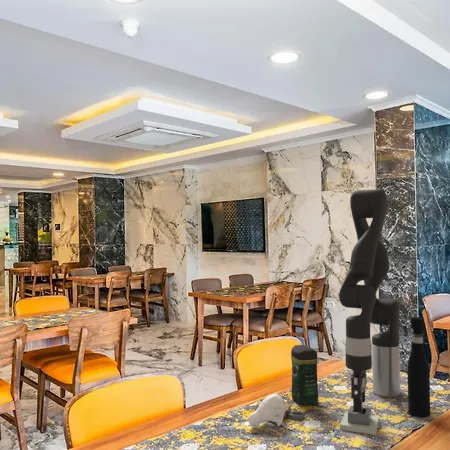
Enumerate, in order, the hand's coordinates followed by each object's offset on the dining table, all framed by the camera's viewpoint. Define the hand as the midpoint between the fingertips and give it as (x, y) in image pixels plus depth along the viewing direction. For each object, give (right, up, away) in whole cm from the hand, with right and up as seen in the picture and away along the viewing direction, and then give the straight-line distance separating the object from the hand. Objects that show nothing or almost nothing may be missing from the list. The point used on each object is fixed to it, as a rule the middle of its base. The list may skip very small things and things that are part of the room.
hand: (359, 406), depth 138 cm
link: (0, -4, 0) cm, 4 cm away
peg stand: (0, -6, 0) cm, 6 cm away
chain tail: (-19, -6, +7) cm, 21 cm away
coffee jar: (-13, -6, +21) cm, 25 cm away
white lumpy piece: (-28, -6, +1) cm, 28 cm away
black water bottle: (+21, -6, +8) cm, 23 cm away
